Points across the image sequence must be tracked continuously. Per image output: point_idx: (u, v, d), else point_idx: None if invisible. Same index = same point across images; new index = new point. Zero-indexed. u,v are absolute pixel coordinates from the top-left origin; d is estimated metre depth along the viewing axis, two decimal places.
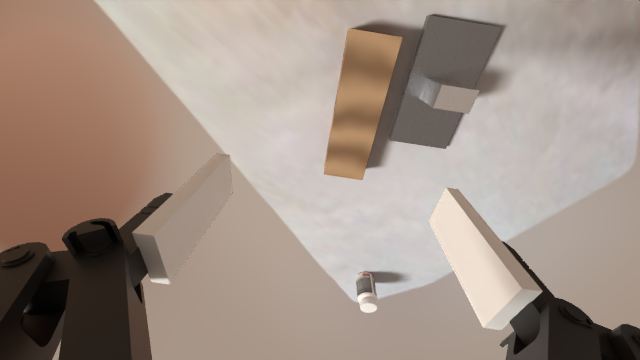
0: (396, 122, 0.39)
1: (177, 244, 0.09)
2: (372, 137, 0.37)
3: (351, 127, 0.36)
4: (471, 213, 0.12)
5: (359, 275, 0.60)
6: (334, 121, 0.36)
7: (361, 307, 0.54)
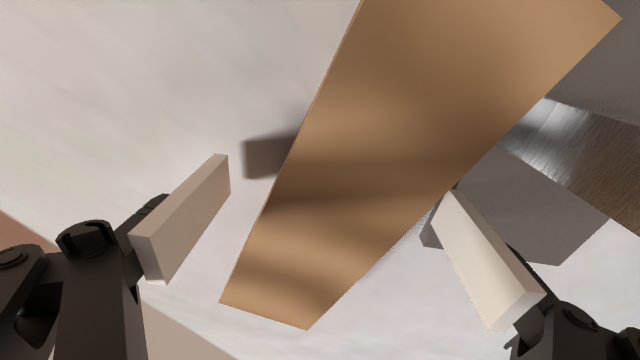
0: None
1: (173, 245, 0.09)
2: (360, 271, 0.14)
3: (312, 238, 0.12)
4: (474, 214, 0.12)
5: None
6: (267, 211, 0.12)
7: None
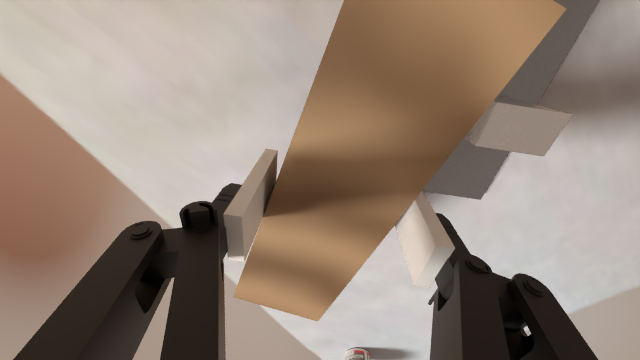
0: None
1: (249, 227, 0.11)
2: (362, 258, 0.14)
3: (314, 229, 0.13)
4: None
5: (350, 353, 0.44)
6: (271, 205, 0.13)
7: None
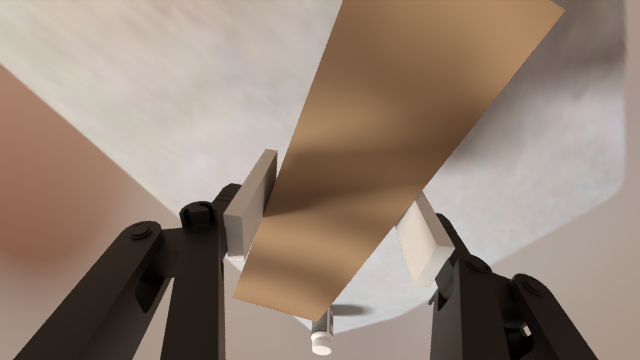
0: None
1: (249, 227, 0.11)
2: (361, 259, 0.14)
3: (313, 230, 0.13)
4: None
5: None
6: (270, 206, 0.13)
7: (313, 350, 0.47)
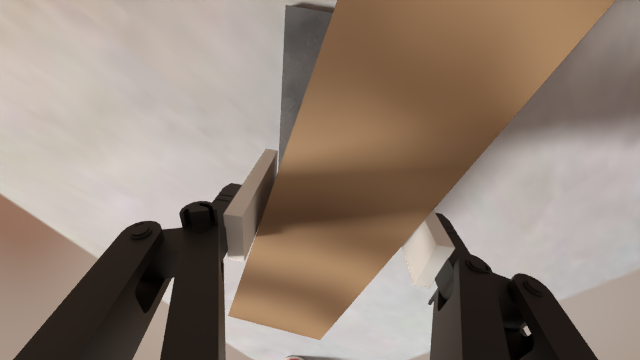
0: None
1: (249, 227, 0.11)
2: (367, 278, 0.13)
3: (313, 247, 0.12)
4: None
5: None
6: (264, 222, 0.11)
7: None
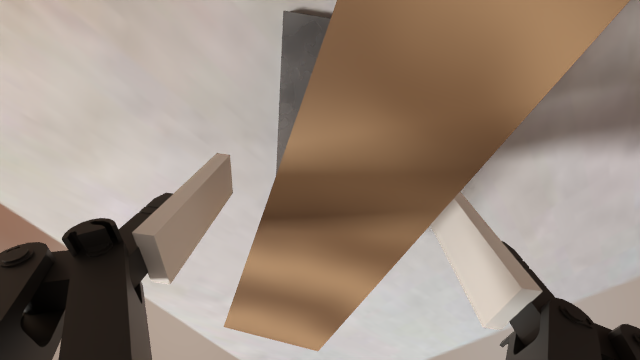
0: None
1: (177, 244, 0.09)
2: (366, 289, 0.13)
3: (311, 258, 0.12)
4: (471, 213, 0.12)
5: None
6: (260, 233, 0.11)
7: None
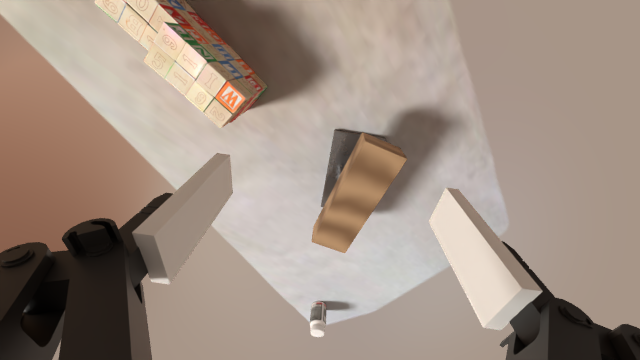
0: (323, 195, 0.51)
1: (177, 244, 0.09)
2: (362, 223, 0.41)
3: (346, 212, 0.40)
4: (471, 213, 0.12)
5: (313, 304, 0.71)
6: (332, 204, 0.39)
7: (311, 332, 0.66)
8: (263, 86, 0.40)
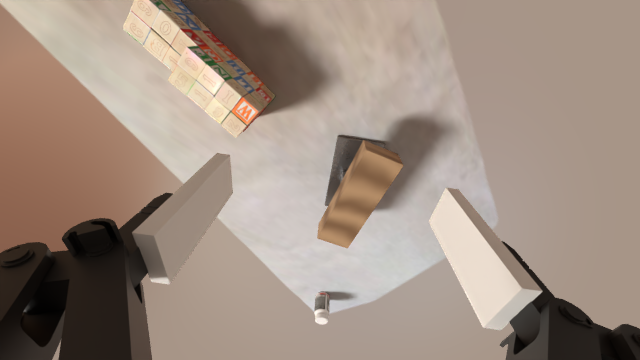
0: (327, 195, 0.55)
1: (177, 244, 0.09)
2: (363, 221, 0.45)
3: (349, 212, 0.44)
4: (471, 213, 0.12)
5: (317, 294, 0.77)
6: (337, 205, 0.44)
7: (316, 320, 0.71)
8: (272, 96, 0.43)
